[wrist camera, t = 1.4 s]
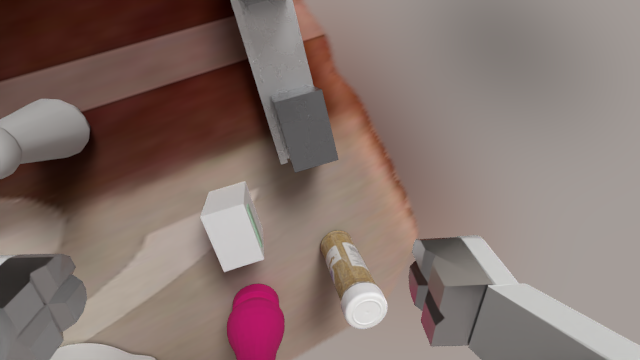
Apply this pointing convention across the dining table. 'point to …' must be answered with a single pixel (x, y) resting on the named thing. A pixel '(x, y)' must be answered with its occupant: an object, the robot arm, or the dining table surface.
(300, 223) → the dining table surface
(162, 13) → the dining table surface
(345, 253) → the spice jar
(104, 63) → the dining table surface
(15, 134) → the salt shaker
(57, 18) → the dining table surface
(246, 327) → the pepper mill
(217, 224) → the block
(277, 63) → the rail
